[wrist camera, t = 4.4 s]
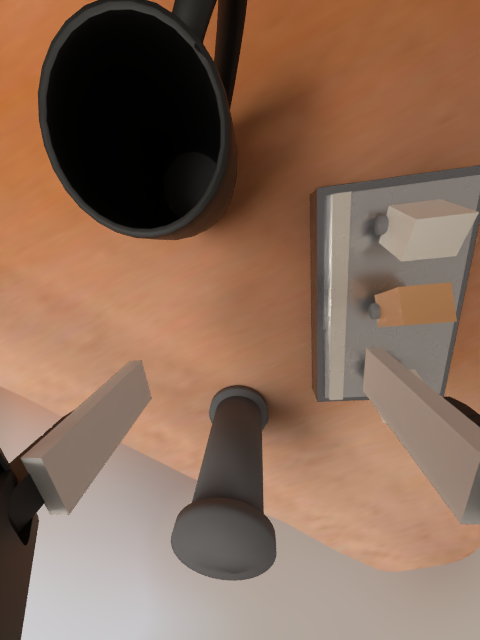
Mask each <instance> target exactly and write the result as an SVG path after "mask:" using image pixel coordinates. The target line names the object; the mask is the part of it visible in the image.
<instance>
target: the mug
mask: <svg viewBox="0 0 480 640" xmlns="http://www.w3.org/2000/svg"><path fill="white" fill-rule="evenodd" d="M216 1H217V0H175V3H174V7H173V10H172V13H171V12H170V11H168V10H166V9H165V8H163V7H162V6H160V5H159V4H157V3H155V2H151V1H148V0H97V1H95V2H92V3H90V4H87V5H85V6H83V7H82V8H81V9H80V10H79V11H77V12H76V13H75V14H74V15H72V16H71V17H70V18H69V19H68V20H66V21H65V23H64V24H63V26H62V27H61V29H60V30H59V32H58V33H57V34H56V36H55V37H54V39H53V40H52V42H51V44H50V47H49V50H48V52H47V55H46V57H45V60H44V63H43V65H42V70H41V77H40V83H39V90H38V107H39V122H40V128H41V132H42V137H43V142H44V146H45V149H46V152H47V154H48V157H49V159H50V162H51V165H52V167H53V170H54V171H55V173H56V175H57V176H58V178H59V180H60V182H61V183H62V185H63V187H64V188H65V190H66V191H67V193H68V194H69V195H70V196H71V197H72V198H73V200H74V201H75V202H76V203H77V204H78V206H79V207H80V208H81V209H82V210H84V211H85V212H86V213H87V214H89V215H90V216H91V217H92V218H93V219H95V220H96V221H97V222H98V223H100V224H102V225H104V226H106V227H107V228H109V229H111V230H113V231H115V232H117V233H120V234H124V235H127V236H131V237H135V238H145V239H161V240H179V239H183V238H188V237H192V236H195V235H197V234H199V233H201V232H203V231H205V230H207V229H209V228H210V227H211V226H212V225H214V224H215V223H216V222H217V221H218V220H219V219H220V218H221V216H222V215H223V214H224V212H225V211H226V209H227V207H228V205H229V203H230V200H231V198H232V195H233V191H234V187H235V182H236V177H237V147H236V141H235V135H234V129H233V124H232V118H231V113H230V107H231V101H232V96H233V90H234V85H235V79H236V73H237V67H238V61H239V55H240V49H241V43H242V36H243V29H244V22H245V15H246V7H247V0H218V20H217V33H216V46H215V58H214V61H213V60H212V58H211V56H210V55H209V53H208V51H207V50H206V48H205V46H204V45H203V40H204V37H205V34H206V31H207V27H208V24H209V21H210V18H211V15H212V12H213V9H214V7H215V4H216Z"/></svg>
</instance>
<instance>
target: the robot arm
mask: <svg viewBox="0 0 480 640" xmlns="http://www.w3.org/2000/svg"><path fill="white" fill-rule="evenodd" d="M363 392H364V393H365V394H366V396H367V397H368V398H369V400H370V401H371V402H372V404H373V405H374V407H375V408H376V409H377V411H378V412H379V413H380V415H381V416H382V417H383V419H384V420H385V422H386V423H387V424H388V426H389V427H390V428H391V430H392V431H393V432H394V434H395V435H396V437H397V438H398V439H399V441H400V442H401V443H402V445H403V446H404V447H405V449H406V450H407V451H408V453H409V454H410V456H411V457H412V458H413V460H414V461H415V462H416V464H417V465H418V466H419V468H420V469H421V471H422V472H423V473H424V475H425V476H426V477H427V479H428V480H429V481H430V483H431V484H432V486H433V487H434V488H435V490H436V491H437V492H438V494H439V495H440V496H441V498H442V499H443V501H444V502H445V503H446V505H447V506H448V507H449V509H450V510H451V511H452V513H453V514H454V516H455V517H456V518H457V520H458V521H459V522H460V524H480V415H479V414H478V413H477V412H475V411H474V410H473V409H471V408H470V407H469V406H467V405H466V404H464V403H462V402H460V401H458V400H456V399H454V398H452V397H442V396H440V395H439V394H438V393H437V392H435V391H434V390H433V389H432V388H431V387H429V386H428V385H427V384H426V383H424V382H423V381H422V380H421V379H419V378H418V377H417V376H416V375H414V374H413V373H412V372H411V371H410V370H408V369H407V368H406V367H405V366H403V365H402V364H401V363H400V362H398V361H397V360H396V359H395V358H393V357H392V356H391V355H390V354H389V353H387V352H386V351H385V350H384V349H382V348H381V347H376V348H366V356H365V368H364V381H363ZM150 400H151V394H150V390H149V386H148V382H147V379H146V375H145V371H144V367H143V363H142V360H141V361H130V362H128V363H127V364H126V365H125V366H124V367H123V368H122V369H121V370H119V371H118V372H117V373H116V374H115V375H114V376H113V377H111V378H110V379H109V380H108V381H107V382H106V383H105V384H104V385H102V386H101V387H100V388H99V389H98V390H97V391H96V392H95V393H93V394H92V395H91V396H90V397H89V398H88V399H87V400H86V401H84V402H83V403H82V404H81V405H80V406H79V407H78V408H76V409H75V410H74V411H72V412H70V413H69V414H67V415H66V416H64V417H62V418H61V419H60V420H59V421H58V422H57V423H56V424H54V425H53V426H52V428H50V429H49V430H48V431H46V432H45V433H44V435H43V436H41V437H39V438H38V439H37V440H36V441H35V442H34V443H33V444H31V445H30V446H29V447H28V448H27V449H26V450H24V451H23V452H22V453H21V454H20V455H19V456H17V457H16V458H15V459H14V460H13V461H12V462H11V463H8V461H7V459H6V457H5V456H4V454H3V452H2V450H1V448H0V640H21V634H22V627H23V621H24V615H25V607H26V602H27V595H28V587H29V582H30V575H31V568H32V562H33V556H34V549H35V543H36V536H37V530H38V523H39V520H38V515H37V513H36V512H37V511H38V510H39V509H40V508H41V506H42V505H43V504H45V506H46V507H47V509H48V511H49V513H50V514H56V515H69V514H70V513H71V511H72V510H73V509H74V507H75V506H76V504H77V503H78V501H79V500H80V499H81V497H82V496H83V494H84V493H85V492H86V490H87V489H88V487H89V486H90V484H91V483H92V482H93V480H94V479H95V477H96V476H97V474H98V473H99V472H100V470H101V469H102V468H103V466H104V465H105V463H106V462H107V461H108V459H109V457H110V456H111V455H112V453H113V452H114V451H115V449H116V448H117V446H118V445H119V444H120V442H121V441H122V439H123V438H124V436H125V435H126V434H127V432H128V431H129V429H130V428H131V427H132V425H133V424H134V422H135V421H136V420H137V418H138V417H139V415H140V414H141V412H142V411H143V410H144V408H145V407H146V405H147V404H148V403H149V401H150Z"/></svg>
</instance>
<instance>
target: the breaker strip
mask: <svg viewBox="0 0 480 640" xmlns="http://www.w3.org/2000/svg"><path fill="white" fill-rule="evenodd" d="M437 199H442V200H445V201H448V202H451V203H454V204H457V205H460V206H463V207H466V208H469V209H472V210H475V211H477V212H479V213H478V215H477V217H476V219H475V221H474V223H473V225H472V227H471V229H470V231H469V232H468V234H467V236H466V238H465V240H464V242H463V244H462V246H461V248H460V250H459V252H458V253H457V255H456V256H452V257H442V258H432V259H422V260H412V261H402V262H401V261H400V260H399V259H398V258H396V257H395V256H394V255H393V254H392V253H390V252H389V251H388V250H387V249H386V248H384V247H383V246H382V245H381V244H380V243H379V240H380V236H381V235H376V234H375V230H374V225H375V221H376V219H377V217H378V216H383V215H387V211H388V207H389V205H397V204H405V203H413V202H421V201H429V200H437ZM479 221H480V165H479V166H472V167H464V168H457V169H450V170H443V171H436V172H429V173H421V174H414V175H407V176H400V177H393V178H386V179H378V180H371V181H364V182H357V183H350V184H343V185H335V186H328V187H321V188H317V189H316V190H315V191H314V192H313V193H312V194H311V195H310V240H311V331H312V389H313V391H314V394H315V397H316V399H317V402H324V401H350V400H369V398H368V397H367V396H366V394H365V393H364V392H363V381H364V368H365V356H366V348H376V347H381V348H382V349H384V350H385V351H386V352H387V353H389V354H390V355H391V356H392V357H393V358H395V359H396V360H397V361H398V362H400V363H401V364H402V365H403V366H405V367H406V368H407V369H408V370H410V369H415V370H416V372H417V373H418V374H419V376H420V377H421V379H422V380H423V381H424V383H426V384H427V385H428V386H429V387H431V388H432V389H433V390H434V391H435V392H437V393H438V394H439V395H440V396H442V397H444V393H445V388H446V383H447V378H448V373H449V368H450V363H451V358H452V354H453V349H454V344H455V339H456V334H457V329H458V324H459V319H460V314H461V309H462V305H463V300H464V295H465V290H466V285H467V280H468V275H469V270H470V265H471V261H472V256H473V251H474V246H475V241H476V236H477V231H478V226H479ZM448 282H451V283H452V290H453V297H454V304H455V311H456V317H457V322H445V323H431V324H417V325H403V326H387V327H378V320H377V319H371V318H370V316H369V312H368V309H369V305H370V304H372V303H375V295H377V294H380V293H383V292H386V291H388V290H391V289H394V288H397V287H403V286H414V285H425V284H437V283H448Z"/></svg>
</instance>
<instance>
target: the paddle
mask: <svg viewBox="0 0 480 640" xmlns="http://www.w3.org/2000/svg"><path fill="white" fill-rule="evenodd" d="M478 213H479V212H477V211H475V210H472V209H469V208H466V207H463V206H460V205H457V204H454V203H451V202H448V201H445V200H442V199H437V200H429V201H421V202H413V203H405V204H397V205H389V207H388V211H387V215H383V216H378V217H377V219H376V221H375V225H374V230H375V234H376V235H381V236H380V240H379V243H380V244H381V245H382V246H383V247H384V248H386V249H387V250H388V251H389V252H390V253H392V254H393V255H394V256H395V257H396V258H398V259H399V260H400V261H401V262H402V261H412V260H422V259H432V258H442V257H452V256H456V255H457V253H458V252H459V250H460V248H461V246H462V244H463V242H464V240H465V238H466V236H467V234H468V232H469V231H470V229H471V227H472V225H473V223H474V221H475V219H476V217H477V215H478Z"/></svg>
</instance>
